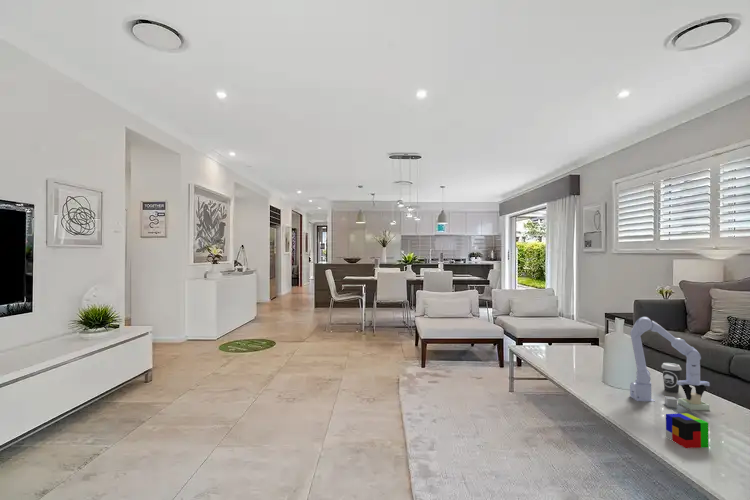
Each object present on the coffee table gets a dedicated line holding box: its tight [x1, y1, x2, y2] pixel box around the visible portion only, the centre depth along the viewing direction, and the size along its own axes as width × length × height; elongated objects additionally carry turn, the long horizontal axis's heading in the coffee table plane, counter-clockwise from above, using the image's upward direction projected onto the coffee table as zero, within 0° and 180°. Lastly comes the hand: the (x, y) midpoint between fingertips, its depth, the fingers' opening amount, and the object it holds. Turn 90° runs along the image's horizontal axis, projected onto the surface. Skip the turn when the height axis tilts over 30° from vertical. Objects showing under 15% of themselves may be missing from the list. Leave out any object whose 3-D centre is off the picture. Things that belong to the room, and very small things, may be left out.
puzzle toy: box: [665, 413, 709, 449], centre depth 172 cm, size 10×10×10 cm
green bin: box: [677, 397, 710, 411], centre depth 211 cm, size 9×9×3 cm
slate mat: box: [662, 403, 697, 416], centre depth 207 cm, size 8×14×1 cm, turn 175°
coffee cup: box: [660, 362, 682, 394], centre depth 237 cm, size 10×10×15 cm
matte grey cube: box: [664, 395, 678, 408], centre depth 212 cm, size 4×4×4 cm
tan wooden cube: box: [687, 391, 702, 404], centre depth 211 cm, size 4×4×4 cm
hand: (693, 399), depth 211 cm, fingers closed on tan wooden cube, 4 cm apart
